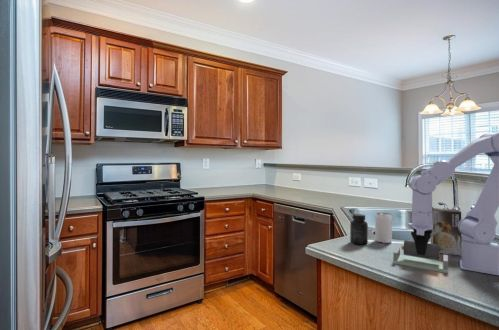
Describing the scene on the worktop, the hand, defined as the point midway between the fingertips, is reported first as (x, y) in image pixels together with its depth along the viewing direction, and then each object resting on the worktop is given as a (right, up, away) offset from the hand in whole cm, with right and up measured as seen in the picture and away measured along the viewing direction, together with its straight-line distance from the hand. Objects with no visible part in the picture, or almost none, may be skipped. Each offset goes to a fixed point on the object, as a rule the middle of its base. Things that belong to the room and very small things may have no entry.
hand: (421, 252), depth 96 cm
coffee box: (+17, -4, +14) cm, 22 cm away
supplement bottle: (-11, -4, +25) cm, 28 cm away
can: (0, -4, +28) cm, 28 cm away
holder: (0, -4, 0) cm, 4 cm away
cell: (0, -2, 0) cm, 2 cm away
